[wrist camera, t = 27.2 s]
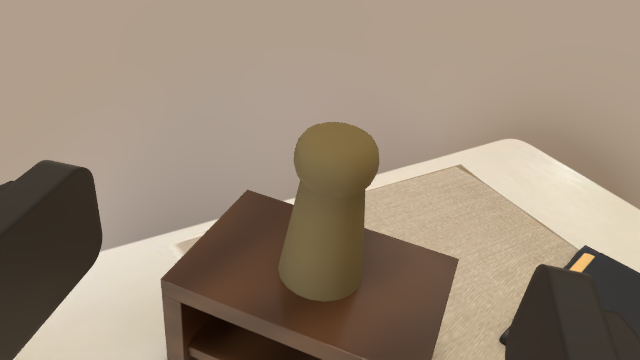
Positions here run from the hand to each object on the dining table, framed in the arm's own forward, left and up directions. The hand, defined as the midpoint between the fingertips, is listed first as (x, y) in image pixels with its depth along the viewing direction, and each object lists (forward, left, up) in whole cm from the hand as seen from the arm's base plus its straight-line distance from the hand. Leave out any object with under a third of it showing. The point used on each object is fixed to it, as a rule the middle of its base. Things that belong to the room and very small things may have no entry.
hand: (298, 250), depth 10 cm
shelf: (-6, +20, -30) cm, 37 cm away
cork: (-5, +20, -20) cm, 29 cm away
